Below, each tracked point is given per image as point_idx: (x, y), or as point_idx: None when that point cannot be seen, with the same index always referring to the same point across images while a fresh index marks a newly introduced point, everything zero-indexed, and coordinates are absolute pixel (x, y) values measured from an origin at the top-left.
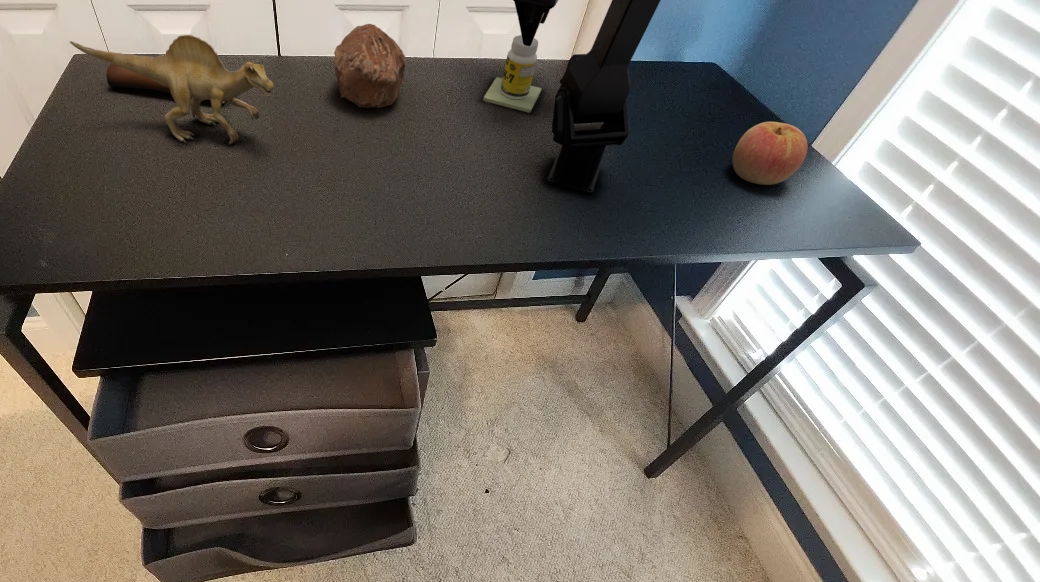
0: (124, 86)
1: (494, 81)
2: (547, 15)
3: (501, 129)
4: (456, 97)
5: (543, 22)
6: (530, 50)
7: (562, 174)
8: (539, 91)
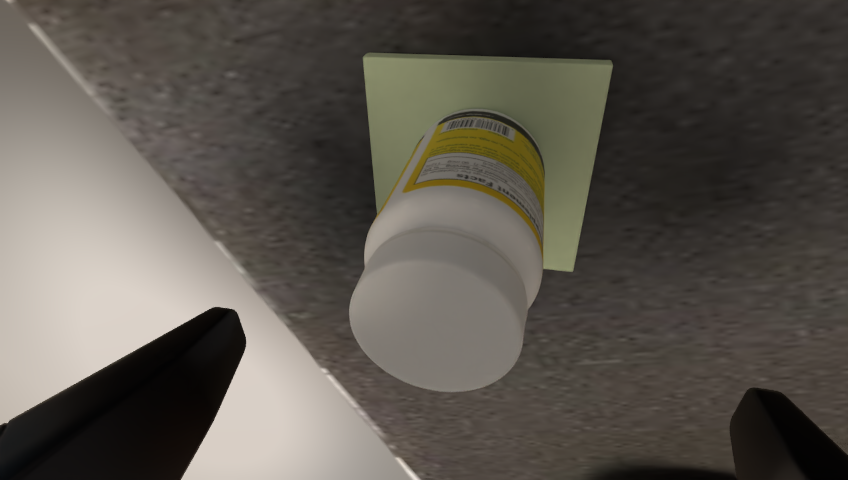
0: None
1: None
2: (173, 337)
3: (826, 159)
4: (580, 340)
5: (231, 316)
6: (508, 281)
7: None
8: (400, 60)
